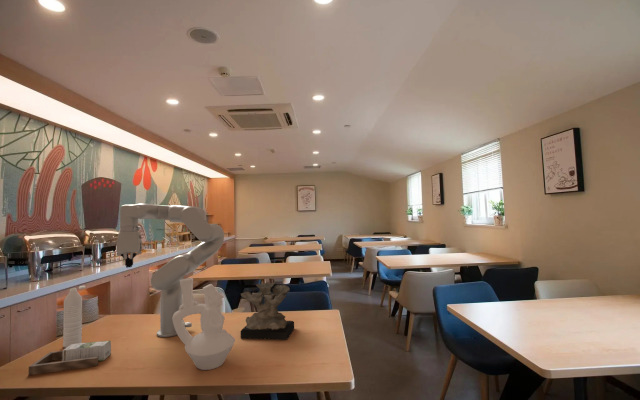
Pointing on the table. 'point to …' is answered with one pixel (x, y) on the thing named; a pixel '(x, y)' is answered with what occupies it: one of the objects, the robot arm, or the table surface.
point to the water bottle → (72, 318)
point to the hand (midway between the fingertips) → (129, 267)
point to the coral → (267, 314)
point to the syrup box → (87, 351)
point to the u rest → (59, 363)
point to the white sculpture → (203, 327)
